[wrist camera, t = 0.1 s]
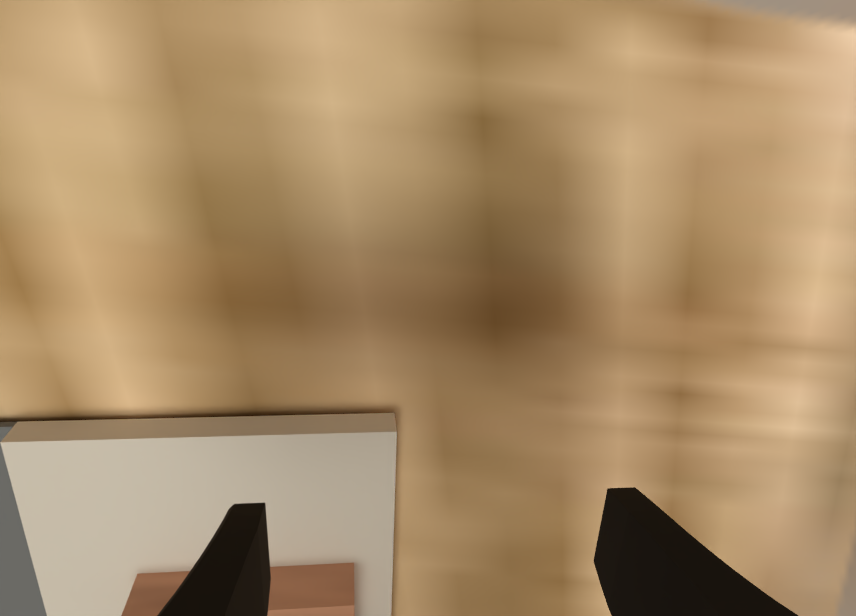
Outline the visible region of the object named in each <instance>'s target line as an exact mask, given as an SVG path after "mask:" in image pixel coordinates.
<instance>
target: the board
mask: <svg viewBox="0 0 856 616" xmlns="http://www.w3.org/2000/svg"><path fill="white" fill-rule="evenodd" d="M396 442H397V429H396V420H395V413H365V414H322V415H279V416H237V417H194V418H152V419H109V420H67V421H24V422H17V423H16V424H15V425H14V426H13V428H12V429H11V430H10V431H9V432H8V434H7V435H6V436H5V437H4V438H3V440H2V441H1V442H0V443H1V447H2V451H3V454H4V458H5V462H6V466H7V469H8V473H9V477H10V480H11V484H12V488H13V492H14V495H15V499H16V503H17V506H18V510H19V514H20V518H21V521H22V525H23V529H24V532H25V536H26V540H27V544H28V547H29V551H30V555H31V558H32V562H33V566H34V570H35V573H36V577H37V581H38V584H39V588H40V592H41V596H42V599H43V603H44V607H45V611H46V614H47V616H121V615H122V612H123V610H124V607H125V605H126V602H127V599H128V597H129V594H130V592H131V589H132V586H133V584H134V581H135V578H136V576H137V574H140V573H160V572H180V571H191V569H192V568H193V566H194V565H195V563H196V562H197V561H198V559H199V558H200V556H201V555H202V553H203V552H204V550H205V548H206V547H207V545H208V544H209V542H210V541H211V539H212V537H213V536H214V534H215V532H216V531H217V529H218V527H219V526H220V524H221V522H222V521H223V519H224V517H225V515H226V513H227V511H228V510H229V508H230V507H231V506H232V505H234V504H241V503H265V505H266V519H267V532H268V546H269V559H270V567H278V566H297V565H317V564H337V563H354V613H355V616H391V607H392V574H393V541H394V508H395V475H396Z"/></svg>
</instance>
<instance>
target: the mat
mask: <svg viewBox="0 0 856 616" xmlns="http://www.w3.org/2000/svg"><path fill="white" fill-rule="evenodd" d="M16 423H17V422H0V442H1V441H2V440H3V438H4V437H5V436H6V435H7V434H8V432H9V431H10V430H11V429H12V428H13V426H14V425H15V424H16ZM0 616H47V614H46V611H45V607H44V603H43V599H42V596H41V592H40V588H39V584H38V581H37V577H36V573H35V570H34V566H33V562H32V558H31V555H30V551H29V547H28V544H27V540H26V536H25V532H24V529H23V525H22V521H21V518H20V514H19V510H18V506H17V503H16V499H15V495H14V492H13V488H12V484H11V480H10V477H9V473H8V469H7V466H6V462H5V458H4V454H3V451H2V447H1V443H0Z"/></svg>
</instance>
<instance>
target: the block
mask: <svg viewBox="0 0 856 616" xmlns="http://www.w3.org/2000/svg"><path fill="white" fill-rule="evenodd" d="M189 572H190V571H180V572H160V573H140V574H137V576H136V578H135V581H134V584H133V586H132V589H131V592H130V594H129V597H128V599H127V602H126V605H125V607H124V610H123V612H122V615H121V616H157V615H158V614H159V613H160V611H161V610H162V609H163V607H164V606H165V605H166V604H167V602H168V601H169V600H170V598H171V597H172V596H173V595H174V593H175V592H176V591H177V589H178V588H179V586H180V585H181V584H182V582H183V581H184V579H185V578H186V576H187V575H188V574H189ZM270 573H271V583H270V594H269V605H268V615H267V616H355V613H354V563H337V564H317V565H297V566H278V567H270Z"/></svg>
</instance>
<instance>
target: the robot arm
mask: <svg viewBox="0 0 856 616" xmlns="http://www.w3.org/2000/svg"><path fill="white" fill-rule="evenodd" d="M594 564H595V567H596V570H597V574H598V577H599V580H600V584H601V587H602V590H603V593H604V596H605V599H606V602H607V605H608V608H609V610H610V612H611V615H612V616H798V615H797V614H795V613H793V612H792V611H790V610H789V609H787V608H786V607H784V606H783V605H781V604H780V603H778V602H777V601H775V600H774V599H773V598H771V597H770V596H768V595H767V594H765V593H764V592H763V591H761V590H760V589H759V588H757V587H756V586H755V585H753V584H752V583H751V582H749V581H748V580H747V579H745V578H744V577H743V576H741V575H740V574H739V573H737V572H736V571H735V570H733V569H732V568H731V567H729V566H728V565H727V564H726V563H724V562H723V561H722V560H721V559H719V558H718V557H717V556H716V555H714V554H713V553H712V552H711V551H709V550H708V549H707V548H706V547H705V546H703V545H702V544H701V543H700V542H699V541H697V540H696V539H695V538H694V537H693V536H691V535H690V534H689V533H688V532H687V531H685V530H684V529H683V528H682V527H681V526H680V525H678V524H677V523H676V522H675V521H674V520H673V519H671V518H670V517H669V516H668V515H667V514H666V513H665V512H663V511H662V510H661V509H660V508H659V507H658V506H656V505H655V504H654V503H653V502H652V501H651V500H649V499H648V498H647V497H646V496H645V495H643V494H642V493H641V492H640V491H639V490H637V489H636V488H635V487H634V488H610V489H607V495H606V500H605V505H604V510H603V515H602V521H601V526H600V531H599V536H598V541H597V546H596V552H595V557H594ZM270 583H271V573H270V559H269V546H268V532H267V519H266V505H265V503H241V504H234V505H232V506H231V507H230V508H229V510H228V511H227V513H226V515H225V517H224V519H223V521H222V522H221V524H220V526H219V527H218V529H217V531H216V532H215V534H214V536H213V537H212V539H211V541H210V542H209V544H208V545H207V547H206V548H205V550H204V552H203V553H202V555H201V556H200V558H199V559H198V561H197V562H196V563H195V565H194V566H193V568H192V569H191V571H190V572H189V574H188V575H187V576H186V578H185V579H184V581H183V582H182V584H181V585H180V586H179V588H178V589H177V591H176V592H175V593H174V595H173V596H172V597H171V598H170V600H169V601H168V602H167V604H166V605H165V606H164V607H163V609H162V610H161V611H160V613H159V614H158V615H157V616H267V615H268V605H269V594H270Z"/></svg>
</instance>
